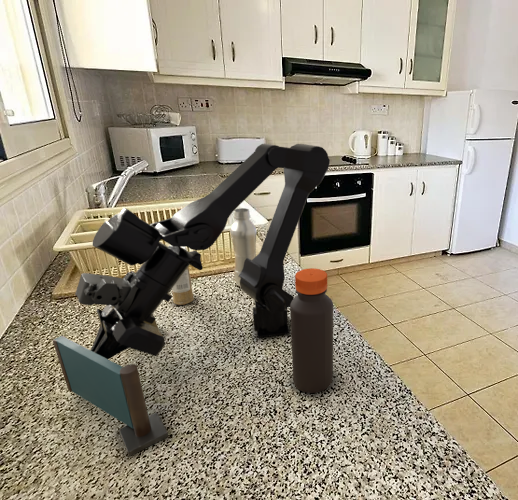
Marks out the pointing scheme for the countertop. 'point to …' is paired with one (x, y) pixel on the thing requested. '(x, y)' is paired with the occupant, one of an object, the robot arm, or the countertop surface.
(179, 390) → the countertop surface
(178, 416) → the countertop surface
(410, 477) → the countertop surface
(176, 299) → the sprinkles bottle
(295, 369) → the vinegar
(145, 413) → the hinge post
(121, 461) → the countertop surface
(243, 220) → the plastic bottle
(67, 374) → the door
